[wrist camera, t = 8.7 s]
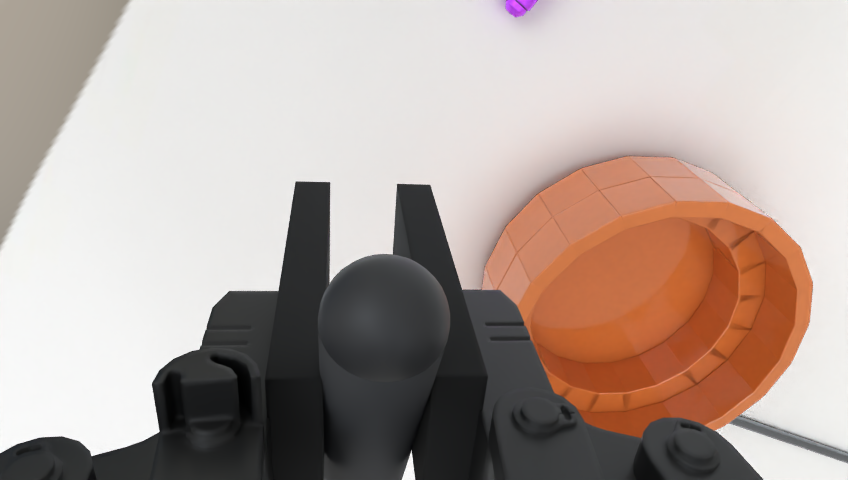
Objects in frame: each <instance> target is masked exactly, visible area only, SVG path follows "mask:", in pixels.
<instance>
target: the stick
mask: <svg viewBox="0 0 848 480" xmlns="http://www.w3.org/2000/svg"><path fill="white" fill-rule="evenodd" d="M449 331H450V310H449V305H448V301H447V298H446V295H445V293H444V291H443V289H442V287H441V285H440V284H439V282H438V281H437V280H436V278H435V277H434V276H433V275H432V274H431V273H430V272H429V271H428V270H427V269H426V268H424V267H423V266H421V265H420V264H418V263H417V262H415V261H413V260H411V259H408V258H406V257H402V256H398V255H391V254H378V255H372V256H367V257H364V258H362V259H359V260H357V261H355V262H353V263H351V264H350V265H348V266H347V267H345V268H344V269H342V270H341V271H340V272H339V273H338V274H337V275H336V276H335V277H334V278H333V280H332V281H331V283H330V284H329V286H328V287H327V289H326V290H325V292H324V295H323V297H322V300H321V302H320V308H319V313H318V343H319V371H320V376H321V378H322V383H323V411H324V480H402V477H403V474H404V471H405V468H406V465H407V462H408V459H409V456H410V453H411V450H412V447H413V444H414V441H415V438H416V435H417V432H418V429H419V425H420V422H421V419H422V416H423V413H424V410H425V407H426V404H427V401H428V398H429V395H430V392H431V389H432V386H433V383H434V380H435V377H436V374H437V371H438V368H439V365H440V362H441V359H442V356H443V353H444V350H445V347H446V344H447V340H448V337H449Z"/></svg>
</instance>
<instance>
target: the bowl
mask: <svg viewBox="0 0 848 480" xmlns="http://www.w3.org/2000/svg"><path fill="white" fill-rule="evenodd" d="M482 290H501V291H502V292H503V293H504V294H505V295H506V296H507V297H509V298H510V299H511V300H512V301H513V302H514V303H515V304H516V305H517V306H518V309H519V311H520V313H521V316H522V318H523V321H524V326H526V328H527V330H528V332H529V335H530V340H531V341H532V342H533V344H534V346H535V349H536V351H537V353H538V356H539V358H540V360H541V363H542V365H543V368H544V370H545V372H546V375H547V377H548V379H549V382H550V384H551V386H552V389H553V391H554V393H555V394H558V395H560V396H562V397H564V398H565V399H566V400H568V401H569V402H570V403H571V404H573V405H574V406H575V407H576V408H577V410H578V411H579V413H580V415H581V416H582V418H583V419H584V422H586V423H588V424H590V425H592V426H594V427H598V428H601V429H604V430H608V431H612V432H617V433H621V434H626V435H630V436H635V437H639V438H641V437H642V434H643V432H644V430H645V429H646V428H647V426H648V425H649V424H650V422H653V421H656V420H658V419H661V418H684V419H688V420H691V421H695V422H699V423H701V424H703V425H705V426H706V427H708V428H710V429H712V430H714V431H715V430H717V429H719V428H721V427H723V426H725V425H726V424H729V423H730V422H731V421H733V420H734V419H735V418H736V417H738V416H739V415H740V414H742V413H743V412H744V411H746V410H747V409H748V408H749V407H751V406H752V405H753V404H755V403H756V402H757V401H759V400H760V399H761V398H762V397H763V396H765V394H766V393H767V392H768V391H769V390H770V388H771V387H772V386H773V385H774V384H775V382H776V381H777V380H778V379H779V378H780V376H781V375H782V374H783V373H784V372H785V370H786V369H787V368H788V367H789V365H790V364H791V363H792V361H793V359H794V357H795V355H796V352H797V350H798V348H799V346H800V344H801V341H802V339H803V337H804V335H805V332H806V330H807V328H808V326H809V323H810V313H811V302H812V291H813V282H812V279H811V276H810V273H809V270H808V267H807V264H806V261H805V259H804V256H803V253H802V250H801V248H800V246H799V245H798V244H797V243H796V242H795V241H794V240H793V239H792V238H791V237H790V236H789V235H788V234H787V233H786V232H785V231H784V230H783V229H782V228H781V227H780V226H779V225H778V224H777V223H776V222H775V221H774V220H773V219H772V218H770V217H769V216H768V215H767V214H765V213H764V212H763V211H761V210H760V209H759V208H757V207H756V206H755V205H754V204H752V203H751V202H750V201H748V200H747V199H746V198H744V197H743V196H742V195H740V194H739V193H738V192H737V191H735V190H734V189H733V188H731V187H730V186H729V185H727V184H726V183H725V182H724V181H722V180H721V179H720V178H718V177H717V176H716V175H714V174H713V173H711V172H709V171H707V170H704V169H702V168H699V167H697V166H694V165H692V164H689V163H686V162H684V161H681V160H679V159H676V158H673V157H644V156H625V157H621V158H617V159H614V160H610V161H606V162H602V163H599V164H595V165H591V166H587V167H584V168H581V169H579V170H577V171H575V172H574V173H572V174H570V175H569V176H567V177H565V178H563V179H562V180H560V181H558V182H557V183H555V184H553V185H552V186H550V187H548V188H546V189H545V190H543V191H541V192H540V193H538V194H537V195H536V196H535V197H534V198H533V199H532V200H531V201H530V202H529V203H528V204H527V205H526V206H525V207H524V208H523V209H522V210H521V211H520V212H519V213H518V214H517V215H516V216H515V217H514V219H513V220H512V221H511V222H510V223H509V224H508V225H507V226H506V227H505V229H504V231H503V233H502V234H501V236H500V238H499V240H498V242H497V244H496V246H495V248H494V250H493V252H492V254H491V256H490V258H489V260H488V262H487V263H486V266H485V270H484V277H483V284H482Z"/></svg>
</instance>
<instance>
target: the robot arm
mask: <svg viewBox="0 0 848 480" xmlns="http://www.w3.org/2000/svg"><path fill="white" fill-rule="evenodd" d="M393 255H398V256H402V257H406V258H408V259H411V260H413V261H415V262H417V263H418V264H420V265H421V266H423V267H424V268H426V269H427V270H428V271H429V272H430V273H431V274H432V275H433V276H434V277H435V278H436V280H437V281H438V282H439V284H440V285H441V287H442V289H443V291H444V293H445V295H446V298H447V301H448V305H449V310H450V331H449V337H448V340H447V344H446V347H445V350H444V353H443V356H442V359H441V362H440V365H439V368H438V371H437V374H436V377H435V380H434V383H433V386H432V389H431V392H430V395H429V398H428V401H427V404H426V407H425V410H424V413H423V416H422V419H421V422H420V425H419V429H418V432H417V435H416V438H415V441H414V444H413V447H412V456H413V464H414V472H415V480H763V479H762V477H761V476H760V475H759V474H758V473H757V472H756V471H755V470H754V469H753V468H752V466H751V465H750V464H749V463H748V462H747V461H746V460H745V459H744V458H743V457H742V455H741V454H740V453H739V452H738V451H737V450H736V449H735V448H734V447H733V446H732V445H731V444H730V443H729V442H728V441H727V440H726V439H724V438H723V437H722V436H721V435H720V434H719V433H717V432H716V431H714V430H712V429H710V428H708V427H706V426H705V425H703V424H701V423H699V422H695V421H691V420H688V419H684V418H661V419H658V420H656V421H653V422H650V424H649V425H648V426H647V428H646V429H645V430H644V432H643V434H642V437H641V438H639V437H635V436H630V435H626V434H621V433H617V432H612V431H608V430H604V429H601V428H598V427H594V426H592V425H590V424H588V423H586V422H584V419H583V418H582V416H581V415H580V413H579V411H578V410H577V408H576V407H575V406H574V405H573V404H571V403H570V402H569V401H568V400H566V399H565V398H564V397H562V396H560V395H558V394H555V393H554V391H553V389H552V386H551V384H550V382H549V379H548V377H547V375H546V372H545V370H544V368H543V365H542V363H541V360H540V358H539V356H538V353H537V351H536V349H535V346H534V344H533V342H532V341H531V340H530V335H529V332H528V330H527V328H526V326H524V321H523V318H522V316H521V313H520V311H519V309H518V306H517V305H516V304H515V303H514V302H513V301H512V300H511V299H510V298H509V297H507V296H506V295H505V294H504V293H503V292H502V291H501V290H462V288H461V285H460V282H459V278H458V275H457V272H456V268H455V265H454V262H453V259H452V255H451V252H450V249H449V245H448V242H447V239H446V235H445V232H444V229H443V226H442V222H441V219H440V216H439V212H438V209H437V206H436V203H435V199H434V196H433V193H432V189H431V186H430V185H414V184H397V195H396V211H395V228H394V244H393ZM329 263H330V182H296V183H295V189H294V195H293V202H292V208H291V215H290V221H289V228H288V234H287V240H286V247H285V253H284V260H283V266H282V273H281V279H280V285H279V291H229V292H228V293H227V294H226V295H225V296H224V297H223V298H222V299H221V300H220V301H219V302H218V303H217V304H216V305H215V306H214V307H213V308H212V311H211V314H210V318H209V321H208V324H207V330H206V331H205V334H204V337H203V340H202V346H201V347H200V350H196V351H191V352H189V353H187V354H184V355H182V356H179V357H177V358H175V359H173V360H172V361H171V362H169V363H168V364H167V365H166V366H164V367H163V368H162V369H161V370H159V372H158V374H157V376H156V377H155V379H154V381H153V383H152V387H153V393H154V400H155V406H156V412H157V418H158V424H159V430H160V432H159V433H157V434H155V435H154V436H152V437H150V438H148V439H146V440H144V441H142V442H139V443H136V444H134V445H131V446H128V447H125V448H121V449H117V450H113V451H110V452H106V453H102V454H98V455H95V456H91V454H90V451H89V450H88V449H87V448H86V447H85V446H84V445H83V444H81V443H80V442H79V441H76V440H72V439H69V438H65V437H43V438H37V439H34V440H30V441H27V442H24V443H20V444H17V445H15V446H13V447H11V448H9V449H7V450H6V451H4V452H2V453H0V480H324V411H323V383H322V378H321V376H320V371H319V343H318V313H319V308H320V302H321V300H322V297H323V295H324V292H325V290H326V289H327V287H328V286H329Z"/></svg>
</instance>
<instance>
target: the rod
mask: <svg viewBox="0 0 848 480" xmlns="http://www.w3.org/2000/svg"><path fill="white" fill-rule="evenodd" d="M730 424H733V425H736V426H739V427H742V428H745V429H748V430H750V431H753V432H756V433H759V434H762V435H765V436H768V437H771V438H774V439H777V440H780V441H783V442H786V443H789V444H792V445H795V446H798V447H801V448H804V449H807V450H810V451H813V452H816V453H819V454H822V455H825V456H828V457H830V458H833V459H836V460H839V461H842V462H845V463H848V453H846V452H843V451H840V450H837V449H834V448H831V447H828V446H825V445H822V444H820V443H817V442H814V441H811V440H808V439H805V438H802V437H799V436H796V435H793V434H790V433H788V432H785V431H782V430H779V429H776V428H773V427H770V426H767V425H764V424H761V423H759V422H756V421H753V420H750V419H747V418H744V417H741V416H738V417H736V418H735V419H734V420H733V421H731V422H730Z"/></svg>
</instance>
